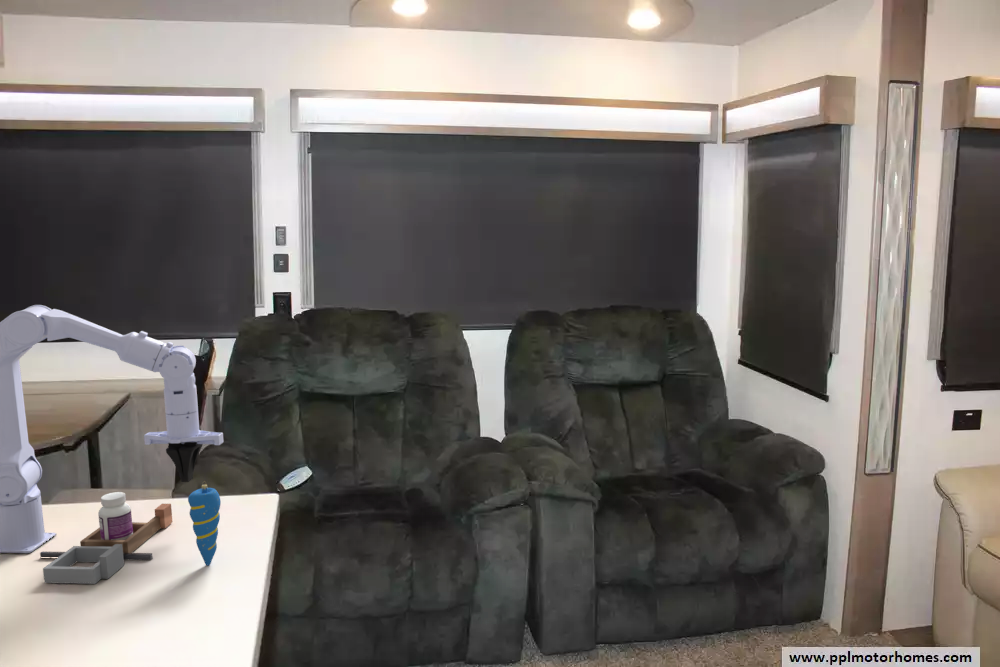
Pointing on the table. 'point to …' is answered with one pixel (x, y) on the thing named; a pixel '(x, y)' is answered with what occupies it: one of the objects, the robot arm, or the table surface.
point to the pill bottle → (115, 517)
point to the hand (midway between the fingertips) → (187, 480)
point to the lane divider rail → (125, 555)
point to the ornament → (205, 520)
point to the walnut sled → (134, 531)
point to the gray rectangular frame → (103, 569)
